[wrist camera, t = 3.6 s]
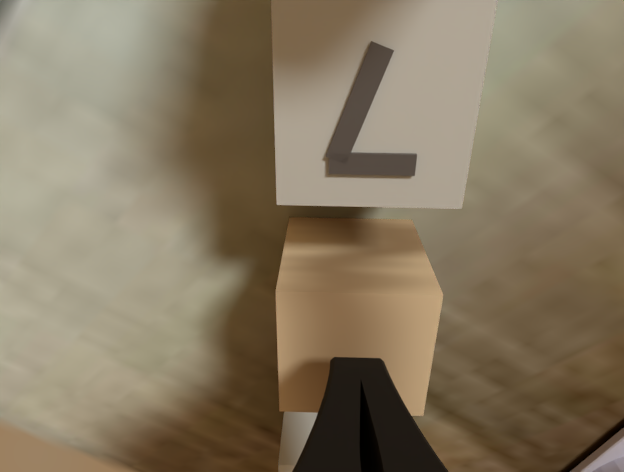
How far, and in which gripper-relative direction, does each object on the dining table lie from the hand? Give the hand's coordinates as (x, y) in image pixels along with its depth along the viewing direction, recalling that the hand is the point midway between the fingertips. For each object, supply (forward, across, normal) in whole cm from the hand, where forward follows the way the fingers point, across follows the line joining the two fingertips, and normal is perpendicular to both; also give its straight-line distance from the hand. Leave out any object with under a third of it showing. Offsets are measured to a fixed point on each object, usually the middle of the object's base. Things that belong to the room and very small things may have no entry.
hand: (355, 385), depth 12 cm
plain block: (+6, 0, 0) cm, 6 cm away
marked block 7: (+6, 0, -7) cm, 9 cm away
